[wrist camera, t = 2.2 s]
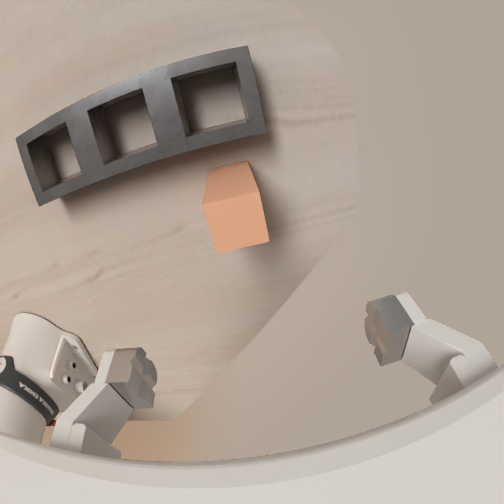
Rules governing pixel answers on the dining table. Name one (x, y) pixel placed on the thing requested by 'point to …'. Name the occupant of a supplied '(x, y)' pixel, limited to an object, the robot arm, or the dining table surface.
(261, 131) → the rail
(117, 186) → the dining table surface
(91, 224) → the dining table surface
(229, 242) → the peg
